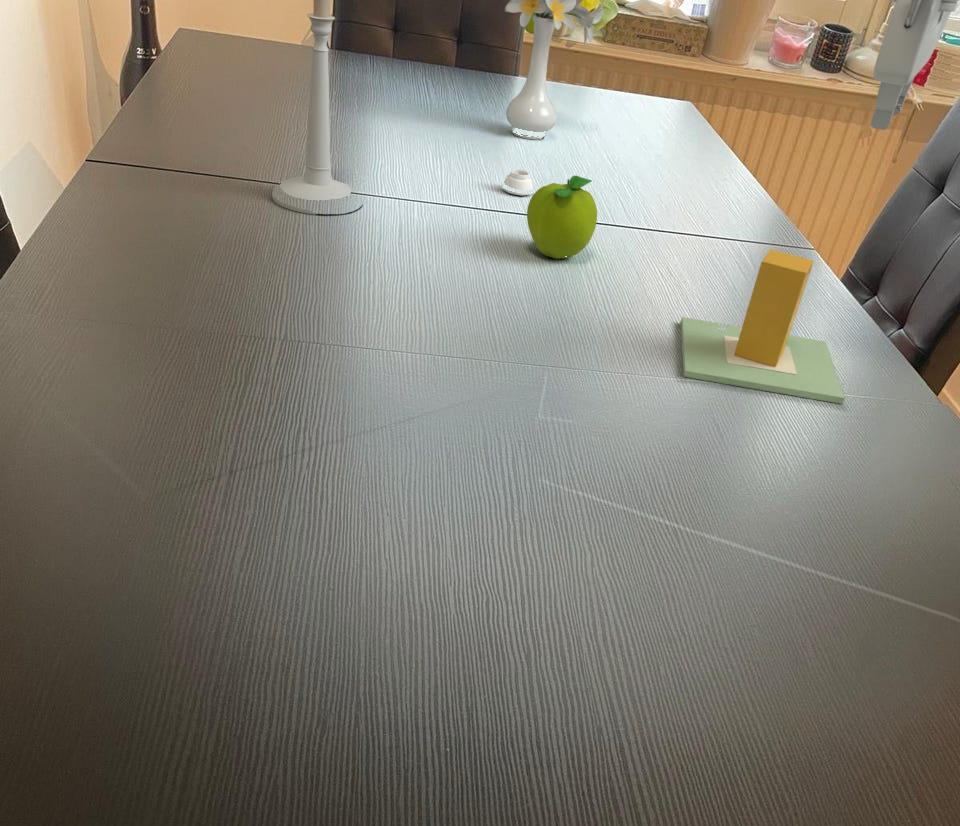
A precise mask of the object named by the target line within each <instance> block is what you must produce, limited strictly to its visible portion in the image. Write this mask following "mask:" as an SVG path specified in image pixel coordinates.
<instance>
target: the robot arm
mask: <svg viewBox="0 0 960 826" xmlns="http://www.w3.org/2000/svg"><path fill="white" fill-rule="evenodd" d="M890 2H892V3H895V4H894V6H893V9H892V11H891V14H890V17H889V20H888V23H887V26H886V29H885V32H884V35H883V39H882V41H881V45H880V48H879V51H878V55H877V57H876V61H875V64H874V68H873V73H872V78H873V80H875V81H876V82H880V84H879V86H878V91H877V95H876V96H877V97H876V100H875V101H876V102H875V106H874V107H875V108H874V111H873V115H872V117H871V121H870V127H872V129H876V130H880V131H886V130H887V129H888V128H889V127H890V125H891V123H892V120H893V116H898V115H900V113H901V112H902V109H903V107H904V103H905V101H906V97H907V96H908V92H909V91H910V88H911V86H912V84H913V81H914V79H915V77H916V76H917V75H918V74H919V73H920V72H921V70H922V69H923V68H924V67H925V66H926V64H927V63H928V62H929V61H930V59H931V57H932V55H933V53H934V51H935V49H936V46H937V45H938V43H939V40H940V38H941V36H942V33H943V32H944V30H945V27H946V25H947V23H948V20H949V18H950V15H951V13H952V12H954V11H956V9H957V6H958V2H959V0H890Z"/></svg>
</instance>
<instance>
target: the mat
mask: <svg viewBox="0 0 960 826" xmlns="http://www.w3.org/2000/svg"><path fill="white" fill-rule="evenodd" d="M719 324H720V325H719ZM722 324H723V325H722ZM721 325H722V326H723V327H722V326H721ZM724 325H725V326H726V327H725V326H724ZM721 327H722V328H723V329H724V327H725V328H726V329H725V332H723V331H724V330H723V329H722V330H723V331H721V330H720V329H721ZM718 328H720V329H719V330H720V331H718V330H717V329H718ZM727 329H728V330H727ZM741 329H742V326H737V325H732V324H725V323H720V322H713V321H707V320H702V319H696V318H691V317H684V316H681V319H680V333H681V334H680V337H681V353H682V372H683V378H688V379H695V380H701V381H706V382H712V383H719V384H722V385H723V384H725V385H729V386H736V387H742V388H746V389H747V388H748V389H751V390H757V391H758V390H759V391H763V392H764V391H765V392H770V393H776V394H782V395H787V396H793V397H799V398H805V399H811V400H817V401H823V402H828V403H834V404H839V405H843V404H844V401H845V395H844V392H843V389H842V385H841V383H840V380H839V376H838V374H837V371H836V368H835V366H834V361H833V359H832V356H831V352H830V350H829V347H828V344H827V341H825V340H819V339H814V338H808V337H803V336H802V337H801V336H795V335H791V334H790V335H789V338H788V341H787V344H786V347H785V350H784V353H783V355H782V356H781V358H780V360H779V362H778V364H777V366H776V367H773V366H770V365H766V364H763V363H759V362H756V361H752V360H749V359H745V358H742V357H738V356H735V355H734V353H735V350H736V346H737V343H738V340H739V336H740V333H741ZM721 332H722V333H721Z"/></svg>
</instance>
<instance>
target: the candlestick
mask: <svg viewBox="0 0 960 826" xmlns="http://www.w3.org/2000/svg"><path fill="white" fill-rule="evenodd" d="M306 16H307V17H308V18H309V20H310V24H311V25H310V31H311V32H312V34H313V39H314V44H313V46H312V49H311V50H312V58H311V75H310V90H309V107H308V124H307V141H306V156H305V164H304V165H305V170H304V173H303V176H296V177H292V178H289V179H285V180H283V181H284V182H283V181H281V182H282V183H281V182H280V183H281V184H280V183H279V184H280V188H281V189H282V190H283V191H284V192H285V193H286V194H288V195H290V196H293V197H296V198H298V197H299V198H301V199H305V200H306V199H307V200H317V201H319V200H323V201H324V200H329V199H330V200H331V199H338V198H339V199H340V198H343V197H345V196H348V195H350V193H351V188H350V187H351V186H350V185H349V184H347V185H346V183H344V182H342V181H339V180H337V179H334V178H333V177H332V172H331V169H332V164H331V163H332V162H331V128H330V127H331V126H330V125H331V124H330V121H331V120H330V77H329V73H330V72H329V51H330V49H329V47H328V43H327V42H328V39H329V35H330V34H331V33H332V23H333V21H334V20H336V17H335V16H333V15H330V0H313V13H311V12H310V13H307V14H306ZM348 185H349V186H350V187H349V186H348ZM271 199H272V200H273V202H274V203H275V204H277V205H278V206H280V207H282V208H285V209H287V210H291V211H294V212H297V213H301V214H307V215H315V216H316V214H315V213H316V211H315V213H313V210H311V211H310V209H309V210H308V209H304V208H299V207H295V206H292V205H289V204H286V203H283V202H281V201H279V200H278V199H276V198H275V197H274V198H273V195H272V194H271Z"/></svg>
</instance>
